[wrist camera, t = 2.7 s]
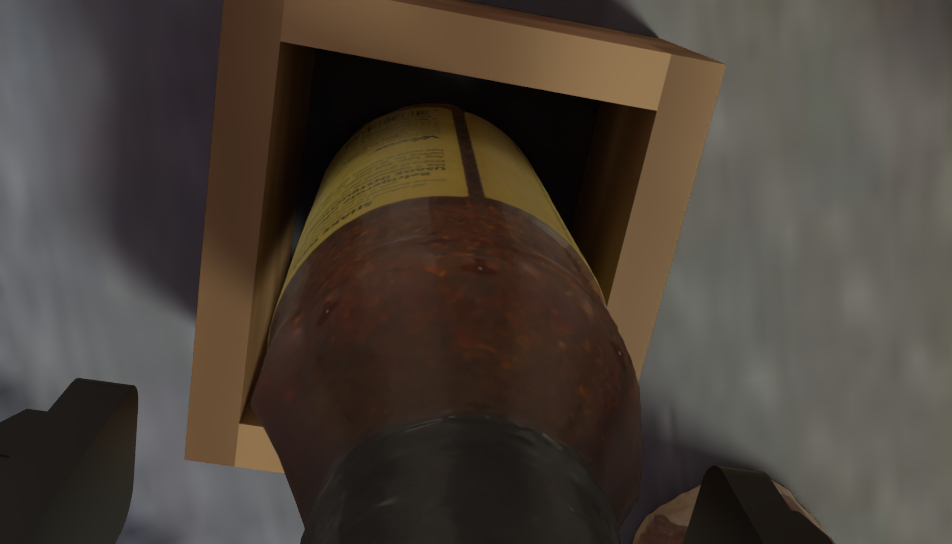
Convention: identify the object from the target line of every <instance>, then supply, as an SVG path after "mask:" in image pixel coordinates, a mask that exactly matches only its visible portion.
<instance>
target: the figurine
mask: <svg viewBox="0 0 952 544" xmlns="http://www.w3.org/2000/svg"><path fill="white" fill-rule="evenodd" d="M772 481H773V480H772ZM773 483H774V485H775V486H776V488H777V489H778V491H779V492H780V494H781V495H782V497H783V498H784V500H785V501H786V503H787V505H788V506H789V508H790V509H791V510H792V511H799V512H800V513H801V514H803V515H804V516H805V517H806V518H807V519H809V520H810V521H811V522H812V523H813V524H814V525H816V526H817V527H818V528H819V529H820V530H822V531H823V532H824V533H825V534H826V535H828V534H827V533H826V532H825V531H824V530H823V528H822V527H821V526H820V525H819V524H818V522H817V521H816V520H815V519H814V518H813V516H812V515H811V514H810V513H808V512H807V511H806V510H805V509H804V508H803V507H802V506H801V505H800V504H799V503H798V502H797V501H796V500H795V498H794V497H793V495H792V494H791V492H790V491H788V490H787V489H785V488H784V487H783V486H781V485H780V484H778V483H776V482H775V481H773ZM700 486H701V485H699V486H698V487H696V488H694V489H692V490H690V491H687V492H684V493H682V494H680V495H679V496H677V497H676V498H675V499H673V500H672V501H670V502H668V503H666V504H664V505H661V506H660V507H658V508H657V509H656V510H655V511H654V512H653V513H651V514H649V515H647V516H646V518H645V519H644V521H643V522H642V524H641V525H640V527H639V528H638V530H637V532H636V534H635V537H634V540H633V543H632V544H683V541H684V538H685V535H686V531H687V528H688V525H689V522H690V518H691V515H692V512H693V509H694V506H695V502H696V499H697V496H698V493H699V490H700ZM828 536H829V535H828ZM829 538H830V539H831V541H832V542H833V544H835V542H834V541H833V540H832V538H831V537H830V536H829Z"/></svg>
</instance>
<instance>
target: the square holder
mask: <svg viewBox="0 0 952 544" xmlns="http://www.w3.org/2000/svg"><path fill="white" fill-rule="evenodd" d="M316 48H319V49H324V50H330V51H335V52H341V53H346V54H352V55H357V56H362V57H368V58H373V59H379V60H384V61H389V62H395V63H400V64H406V65H411V66H417V67H422V68H427V69H433V70H438V71H444V72H449V73H454V74H460V75H465V76H471V77H476V78H482V79H487V80H492V81H498V82H503V83H509V84H514V85H519V86H525V87H530V88H536V89H541V90H547V91H552V92H557V93H563V94H568V95H574V96H579V97H584V98H590V99H595V100H601V104H600V108H599V112H598V117H597V121H596V125H595V129H594V134H593V138H592V142H591V147H590V151H589V155H588V160H587V164H586V168H585V172H584V177H583V181H582V185H581V190H580V194H579V198H578V203H577V207H576V211H575V215H574V220H573V224H572V228H571V233H570V235H571V236H572V238H573V240H574V242H575V243H576V245H577V247H578V248H579V250H580V252H581V254H582V255H583V257H584V258H585V260H586V262H587V264H588V265H589V267H590V269H591V271H592V273H593V275H594V276H595V278H596V280H597V282H598V284H599V286H600V289H601V291H602V294H603V297H604V300H605V303H606V306H607V309H608V311H609V314H610V315H611V317H612V319H613V320H614V322H615V323H616V325H617V326H618V332H619V334H620V335H621V337H622V338H623V340H624V343H625V346H626V348H627V351H628V353H629V355H630V357H631V360H632V363H633V366H634V369H635V372H636V378H637V381H638V382H639V379H640V375H641V372H642V368H643V364H644V361H645V357H646V354H647V350H648V346H649V343H650V339H651V335H652V332H653V328H654V325H655V321H656V317H657V314H658V310H659V307H660V303H661V299H662V296H663V292H664V288H665V285H666V281H667V278H668V274H669V270H670V267H671V263H672V260H673V256H674V252H675V249H676V245H677V242H678V238H679V234H680V231H681V227H682V223H683V220H684V216H685V213H686V209H687V205H688V202H689V198H690V195H691V191H692V187H693V184H694V180H695V177H696V173H697V169H698V166H699V162H700V158H701V155H702V151H703V148H704V144H705V140H706V137H707V133H708V130H709V126H710V122H711V119H712V115H713V111H714V108H715V104H716V101H717V97H718V93H719V90H720V86H721V83H722V79H723V75H724V72H725V68H726V64H724V63H721V62H719V61H716V60H713V59H711V58H708V57H706V56H703V55H701V54H698V53H696V52H693V51H691V50H688V49H686V48H683V47H681V46H678V45H675V44H673V43H670V42H668V41H665V40H663V39H660V38H655V37H650V36H645V35H640V34H635V33H629V32H624V31H619V30H614V29H609V28H604V27H598V26H593V25H588V24H583V23H578V22H572V21H567V20H562V19H557V18H552V17H547V16H541V15H536V14H531V13H526V12H521V11H515V10H510V9H505V8H500V7H495V6H490V5H484V4H479V3H474V2H469V1H464V0H223V10H222V22H221V34H220V46H219V58H218V69H217V81H216V93H215V105H214V117H213V128H212V140H211V152H210V164H209V175H208V187H207V199H206V211H205V223H204V234H203V246H202V258H201V270H200V282H199V293H198V305H197V317H196V329H195V341H194V352H193V364H192V376H191V388H190V399H189V411H188V423H187V435H186V447H185V458H184V460H191V461H198V462H205V463H213V464H220V465H227V466H234V467H242V468H249V469H256V470H263V471H271V472H278V473H284V470H283V467H282V465H281V462H280V460H279V457H278V455H277V453H276V451H275V449H274V447H273V445H272V443H271V441H270V439H269V437H268V436H267V434H266V432H265V430H264V428H263V426H262V424H261V422H260V421H259V419H258V417H257V416H256V414H255V412H254V411H253V409H252V408H251V397H252V395H253V393H254V390H255V386H256V384H257V382H258V379H259V375H260V372H261V368H262V365H263V361H264V358H265V356H266V353H267V347H268V337H269V332H270V327H271V322H272V318H273V315H274V311H275V308H276V305H277V302H278V300H279V297H280V294H281V291H282V288H283V285H284V282H285V279H286V276H287V273H288V270H289V266H290V258H291V249H292V241H293V233H294V225H295V216H296V208H297V200H298V191H299V183H300V175H301V167H302V158H303V150H304V142H305V134H306V125H307V117H308V109H309V101H310V92H311V84H312V76H313V68H314V59H315V51H316Z"/></svg>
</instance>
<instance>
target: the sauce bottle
mask: <svg viewBox="0 0 952 544" xmlns="http://www.w3.org/2000/svg"><path fill="white" fill-rule="evenodd" d="M251 408H252V409H253V411H254V412H255V414H256V416H257V417H258V419H259V421H260V422H261V424H262V426H263V428H264V430H265V432H266V434H267V436H268V437H269V439H270V441H271V443H272V445H273V447H274V449H275V451H276V453H277V455H278V457H279V460H280V462H281V465H282V467H283V470H284V473H285V475H286V478H287V480H288V483H289V485H290V488H291V491H292V493H293V496H294V498H295V501H296V504H297V507H298V510H299V513H300V515H301V518H302V521H303V524H304V527H305V530H304V533H303V535H302V538H301V543H300V544H620V538H619V532H618V530H619V529H620V527H621V525H622V524H623V522H624V520H625V518H626V517H627V515H628V513H629V511H630V510H631V508H632V506H633V505H634V504H635V503H636V502H637V500H638V495H639V486H640V480H641V477H642V467H641V404H640V392H639V385H638V381H637V378H636V372H635V369H634V366H633V363H632V360H631V357H630V355H629V353H628V351H627V348H626V346H625V343H624V340H623V338H622V337H621V335H620V334H619V332H618V326H617V325H616V323H615V322H614V320H613V319H612V317H611V315H610V314H609V311H608V309H607V306H606V303H605V300H604V297H603V294H602V291H601V289H600V286H599V284H598V282H597V280H596V278H595V276H594V275H593V273H592V271H591V269H590V267H589V265H588V264H587V262H586V260H585V258H584V257H583V255H582V254H581V252H580V250H579V248H578V247H577V245H576V243H575V242H574V240H573V238H572V236H571V235H570V233H569V231H568V229H567V228H566V226H565V224H564V222H563V221H562V219H561V217H560V215H559V213H558V212H557V210H556V208H555V206H554V205H553V203H552V201H551V199H550V196H549V194H548V193H547V191H546V190H545V188H544V186H543V184H542V183H541V181H540V179H539V178H538V176H537V174H536V173H535V171H534V169H533V167H532V166H531V164H530V162H529V160H528V159H527V158H526V156H525V155H524V154H523V152H522V151H521V149H520V148H519V147H518V146H517V145H516V144H515V142H514V141H513V140H511V139H510V138H509V137H508V136H507V135H506V134H505V133H504V132H503V131H501V130H500V129H498V128H497V127H496V126H494V125H493V124H491V123H490V122H488V121H486V120H484V119H482V118H480V117H478V116H476V115H474V114H471V113H469V112H465V111H464V110H462V109H460V108H458V107H456V106H454V105H450V104H443V103H421V104H417V105H412V106H404V107H402V108H400V109H398V110H396V111H393V112H390V113H387V114H385V115H383V116H379V117H377V118H376V119H373V120H370V121H368V122H366V123H365V124H364V125H363V126H362V127H361V128H360V129H358V130H356V131H355V132H354V133H353V135H352V136H351V138H350V139H349V140H348V141H347V142H346V143H345V144H344V145H343V146H342V148H341V149H340V150H339V151H338V152H337V154H336V155H335V156H334V158H333V160H332V161H331V163H330V164H329V166H328V167H327V169H326V171H325V173H324V176H323V178H322V181H321V184H320V187H319V189H318V192H317V195H316V198H315V200H314V203H313V206H312V208H311V211H310V213H309V216H308V218H307V220H306V223H305V226H304V229H303V232H302V234H301V237H300V239H299V242H298V245H297V247H296V250H295V253H294V256H293V259H292V262H291V264H290V267H289V270H288V273H287V276H286V279H285V282H284V285H283V288H282V291H281V294H280V297H279V300H278V302H277V305H276V308H275V311H274V315H273V318H272V322H271V327H270V332H269V337H268V347H267V353H266V356H265V358H264V361H263V365H262V368H261V372H260V375H259V379H258V382H257V384H256V386H255V390H254V393H253V395H252V397H251Z"/></svg>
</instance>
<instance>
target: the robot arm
mask: <svg viewBox="0 0 952 544" xmlns="http://www.w3.org/2000/svg"><path fill="white" fill-rule="evenodd" d="M137 415H138V392H137V388H136V387H135V386H134V385H127V384H119V383H112V382H105V381H97V380H90V379H83V378H77V379H75V380H74V381H73V382H72V383H71V384H70V385H69V386H68V388H67V389H66V390H65V391H64V392H63V394H62V395H61V396H60V397H59V398H58V400H57V401H56V402H55V403H54V404H53V406H52V407H51V408H50V409H49V410H48V412H46V411H39V410H31V409H25V410H23V411H22V412H20V413H18V414H16V415H14V416H12V417H10V418H8V419H6V420H4V421H2V422H0V544H115V543H116V541H117V539H118V537H119V535H120V533H121V531H122V529H123V526H124V523H125V521H126V518H127V514H128V511H129V507H130V502H131V497H132V491H133V480H134V464H135V447H136V431H137ZM683 544H833V542H832V541H831V539H830V538H829V536H828V535H826V534H825V533H824V532H823V531H822V530H820V529H819V528H818V527H817V526H816V525H814V524H813V523H812V522H811V521H810V520H809V519H807V518H806V517H805V516H804V515H803V514H801V513H800V512H799V511H792V510H791V509H790V508H789V506H788V505H787V503H786V501H785V500H784V498H783V497H782V495H781V494H780V492H779V491H778V489H777V488H776V486H775V485H774V483H773V481H772V480H771V478H770V477H769V476H768V475H767V474H766V473H764V472H760V471H752V470H745V469H737V468H730V467H723V466H712V467H710V468H709V469H708V470H707V472H706V473H705V475H704V477H703V480H702V483H701V486H700V490H699V493H698V496H697V499H696V502H695V506H694V509H693V512H692V515H691V518H690V522H689V525H688V528H687V531H686V535H685V538H684V541H683Z"/></svg>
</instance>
